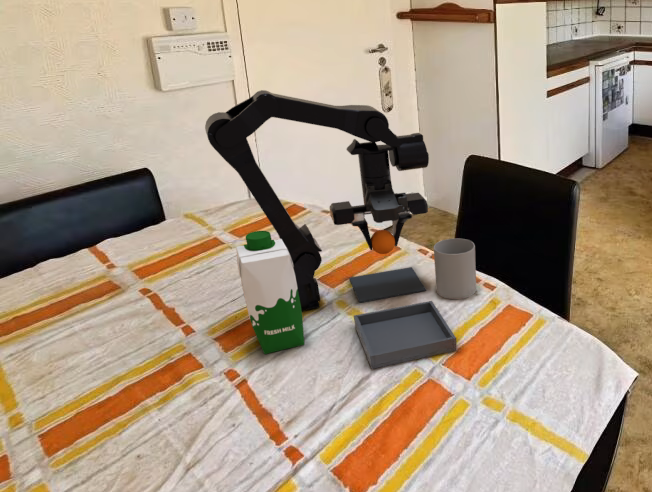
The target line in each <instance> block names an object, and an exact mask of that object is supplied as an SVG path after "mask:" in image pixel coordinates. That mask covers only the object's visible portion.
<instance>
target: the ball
mask: <svg viewBox="0 0 652 492" xmlns="http://www.w3.org/2000/svg"><path fill="white" fill-rule="evenodd" d="M370 238H371V242H372V251H374V252H375V253H377V254H379V255H387V254H390V253H391V252H392V251H393V250H394V248H395V247H396V246H395V238H394V236H393V232H390V231H389V230H387V229H378V230H376V231H375V232H373V233H372V234H371V236H370Z"/></svg>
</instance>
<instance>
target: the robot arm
mask: <svg viewBox="0 0 652 492" xmlns="http://www.w3.org/2000/svg"><path fill="white" fill-rule="evenodd" d="M271 118H275V119H281V120H286V121H293V122H298V123H302V124H303V123H304V124H309V125H315V126H319V127H326V128H331V129H335V130H339V131H342V132H344V133H347V134H349V135H351V136H354V137H356V138H359V139H360V140H361V139H362V140H364V141H366V142H360V141H359V140H357V139H356V138H354V139H352V142H351V143H350V144H349V145H348V146H347V147H346V148H345V149H346V151H347V152H348V153H349V154H350V155H351V156H358V164H359V165H358V166H359V175H360V181H361V182H360V183H361V190H362V198H363V204H359V205H352V204H351V202H350V200H348V201H347V200H346V201H339V202H332V203H331V204H330V205H329V215H330V217H331V220H332V222H333V225H334V226H335V225H336V226H342V225H343V226H344V225H350V224H351V226H352V227H358V229H359V230H360V232H361V233H362V235H363V238H364V239H365V242H366V245H367V246H368V248H369V251H373V248H372V242H371V234H370V230H369V225H368V221H367V219H366V218H365V217H366V216H365V215H371V216H372V220H373V222H375V223H377V224H382V223H384V222H390V221H391V222H392V235H393V236H394V238H395V246H394V247H398V244H399V241H400V237H401V234H402V230H403V228H404V225H405V223H406V222H407V221H408V220H409V219H410V220H412V218H413V215H414V216H416V215H422V214H427V213H429V207H428V201H427V200H426V199H425V197H424V196H423V195H422V194H421V193H419V192H412V193H406V192H399V193H398V192H395V191H394V189H393V184H392V177H391V168H390V165H391V166H392V167H394V168H396V170H397V171H398V172H405V171H411V170H418V169H427V167H428V166H429V161H430V157H429V155H430V154H429V152H428V149H427V145H426V143H425V141H424V135H423V134H422V133H420V132H414V133H411V134H404V135H397V134H395V132H393V131H392V130H391V129H390V124H389V120H388V118H387V116H386V115H385V114H384V113H383V112H381V111H380V110H378V109H376V108H375V107H374V106H371V105H369V104H366V105H365V104H347V105H334V104H328V103H325V102H320V101H319V102H318V101H314V100H308V99H303V98H298V97H293V96H288V95H283V94H279V93H273V92H270V91H269V90H265V89H263V90H262V89H261V90H258V91H257V92H254V93H253V95H252V96H250V97H249V98H247V99H245V100H243V101H242V102H239V103H238V104H235V105H234V106H233V107H231V108H229V109H228V110H226V111H225V112H224V111H223V112H222V111H221V112H219V111H218V112H215V113H213V114H210V116H209V117H208V118H207V119H206V121H205V124H204V125H205V126H204V130H205V133H206V137H207V141H208V142H209V144H210V145H211V147H212V148H213V149H214V150H215V151H216V152H217V153H218V155H220V156H221V158H222V159H223V160H224V161H225V162H226V163H227V164H228V165H229V166H230V167H232V169H234V171H236V173H238V175H239V177H240V178H241V180H242V181H243V183H244V184H245V187H246V188H247V189H248V190H249V192H250V194H251V195H252V197H253V198H254V200H255V201H256V203H257V204H258V206H259V207H260V209H261V210H262V212H263V214H264V215H265V217H266V218H267V220H268V221H269V223H270V224H271V226H272V227H273V229H274V231H275V232H276V233H277V236H278V239H282V241H283V243H284V244H285V246H286V248H287V249H288V252H289V254H290V256H291V259H292V262H293V265H292V266H294V267H293V269H294V273H295V277H296V282H297V288H298V293H299V299H300V304H301V310H302V312H304V311H311V310H315V309H319V308H320V307H321V306H320V303H319V302H321V294H320V289H319V283H318V280H317V278H316V277H315V273H316V271H317V270H318V269H319V268H320V266H321V264H322V261H323V260H322V256H321V252H323V250H322V248H321V247H320V245H319V243H318V241H317V240H316V238H315V237H314V236H313V234H312V232H311V230H310V229H309V227H308V225H307V224H306V223H304V224H302V226H299V225H298V224H297V223H295V221H294V220H293V219H292V218H291V215H290V214H289V212H288V211H287V209H286V207H285V206H284V204H283V203H282V201H281V199H280V198H279V196H278V195H277V193H276V191H275V190H274V188H273V187H272V186H271V184H270V182H269V181H268V178H267V177H266V175H265V174H264V172H263V171H262V169H261V168H260V166H259V165H258V163H257V161H256V159H255V156H254V154H253V151H252V147H251V146H250V143H249V141H248V137H250V136H251V135H253V134H254V133H255V132H256V131H257V130H258V129H260V127H262V126H263V125H264V124H265V123H266V122H267V121H269V120H270V119H271ZM377 142H381V143H383V144H377Z"/></svg>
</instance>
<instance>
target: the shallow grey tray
mask: <svg viewBox="0 0 652 492" xmlns="http://www.w3.org/2000/svg"><path fill="white" fill-rule="evenodd" d="M353 318H354V319H353V320H354V328H355V330H356V332H357V336H358V338H359V340H360V343H361V345H362V348H363V350H364V353H365V355H366V358H367V360H368V363H369V366H370V368H371V369H372V370H374V369H378V368H383V367H387V366H392V365H397V364H400V363H406V362H410V361H415V360H419V359H423V358H428V357H432V356H433V357H434V356H437V355H441V354H446V353H451V352H455V351H457V349H458V348H457V346H458V345H457V337H456V335H455V334H454V332H453V331H452V329H451V327H450V326H449V325H448V323H447V322H446V320H445V319H444V317H443V316H442V314H441V313H440V310H438V308H437V306H436V304H435V303H434V302H433V300H428V301H423V302H418V303H413V304H412V303H411V304H407V305H400V306H397V307H391V308H385V309H381V310H380V309H379V310H376V311H370V312H365V313H360V314H354V315H353Z"/></svg>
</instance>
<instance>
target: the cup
mask: <svg viewBox="0 0 652 492" xmlns="http://www.w3.org/2000/svg"><path fill="white" fill-rule="evenodd" d="M433 258H434V259H433V260H434V272H435V274H434V275H435V276H434V277H435V288H436V293H437V295H439V296H440V297H442V298H444V299H449V300H461V299H466V298H469V297H471V296H473V295H474V294H475V293H476V292H477V268H476V265H477V264H476V244H475V243H474V242H473V241H472V240H470V239H465V238H460V237H459V238H456V237H455V238H447V239H442V240H440V241H437V242H436V243H434V245H433Z"/></svg>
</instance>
